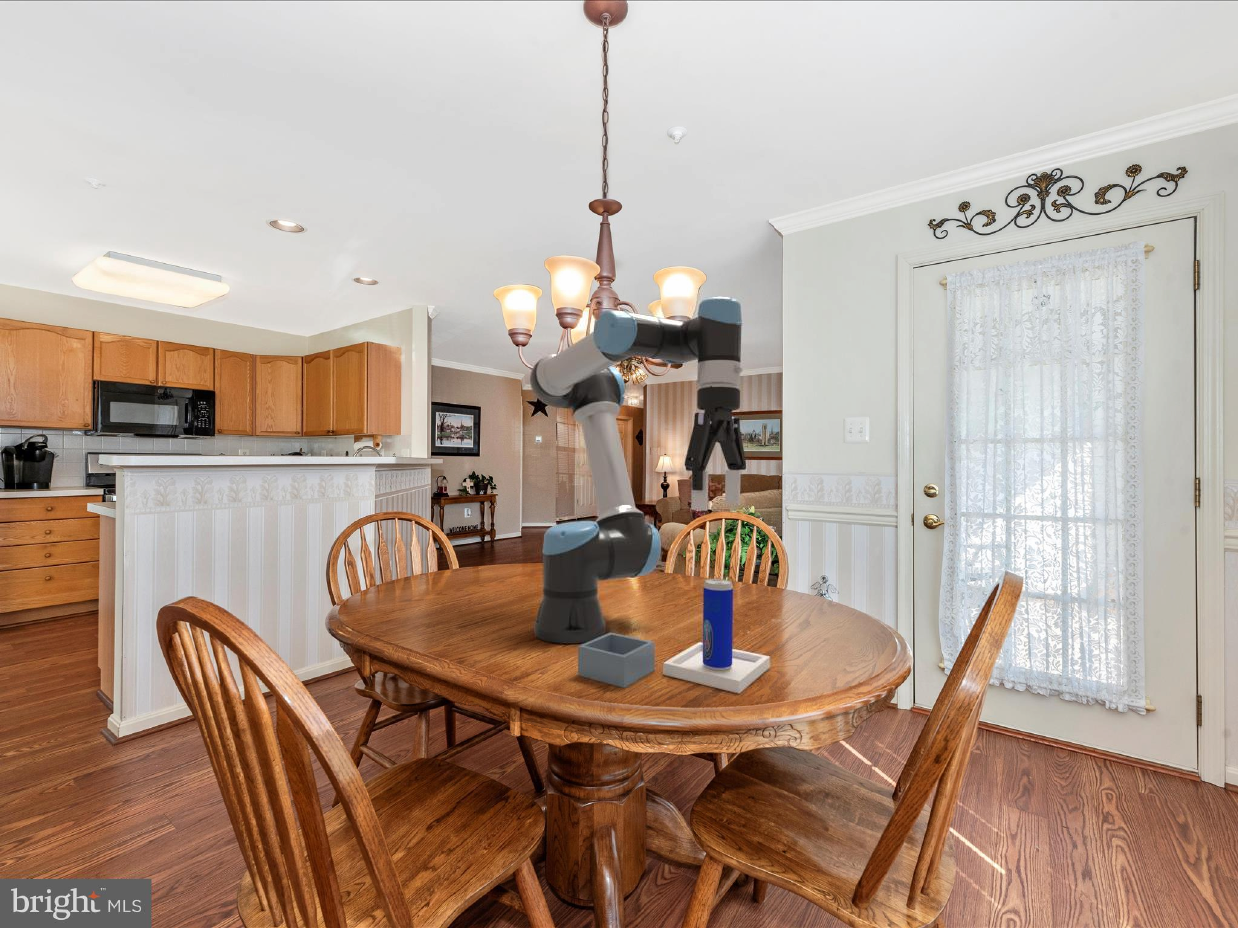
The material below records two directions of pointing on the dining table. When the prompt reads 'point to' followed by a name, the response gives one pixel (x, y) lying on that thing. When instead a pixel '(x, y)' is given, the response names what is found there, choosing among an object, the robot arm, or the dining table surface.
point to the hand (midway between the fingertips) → (716, 507)
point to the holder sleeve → (616, 659)
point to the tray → (733, 679)
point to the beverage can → (717, 624)
